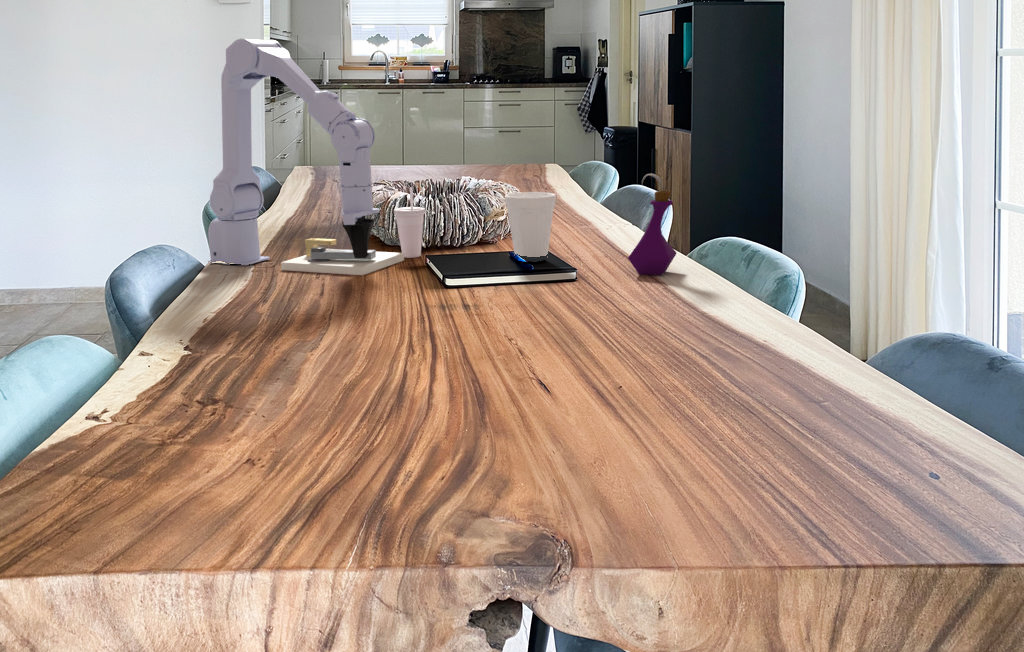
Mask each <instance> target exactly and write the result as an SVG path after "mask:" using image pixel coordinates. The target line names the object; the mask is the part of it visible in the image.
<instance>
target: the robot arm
mask: <svg viewBox="0 0 1024 652" xmlns="http://www.w3.org/2000/svg"><path fill="white" fill-rule="evenodd" d="M266 77H275V78H278V80H279V81H281V82H282V83H283V84H284V85H285V86H287V88H289V89H290V90H291V91H292V92H293V93H294V94H296V95H297V96H298V97H299V98H300V99H301V100H303V102H305V103H306V104H307V113H308V115H309V116H311V118H312V119H314V121H315V122H316V123H318V124H319V126H321V128H322V129H323V130H325V132H326V133H327V134H328V135H330V142H331V144H332V147H333V148H334V149H335V151H336V153H337V159H338V165H339V178H340V179H339V180H340V193H341V207H342V208H341V215H342V220H343V221H342V222H341V225H342V227H343V229H344V231H345V232H346V234H347V237H348V239H349V242H350V246H351V250H353V254H354V257H355V258H366V257H367V252H368V250H369V241H370V238H371V232H372V229H373V226H374V225H375V223H376V221H375V218H366V217H367V216H371V215H373V214H378V213H380V208H379V207H377V208H374V205H373V204H374V203H373V185H372V184H373V183H372V168H371V150H370V148H371V147H372V146H373V145H374V143H375V138H376V136H375V133H376V132H375V130H374V128H373V126H372V124H370V122H369V120H367V119H366V118H358V117H356V113H355V112H354V111H352V110H349V109H348V108H347V107H346V106H345V105H344V104H343V103H342V102H341V101H340V100H339V98H340V96H339V95H338V94H337V93H336V92H331V91H329V90H320V89H319V87H317V85H315V83H314V82H313V80H311V79H310V77H308V75H306V73H305V72H304V71H303V69H301V68H300V67H299V65H298V64H297V63H296V62H295V61H294V60H293V58H292V57H291V55H290V52H289V51H288V49H286V48H284V47H283V46H282V44H280V42H279V41H277V40H274V39H249V38H248V39H247V38H238V39H236V40H234V41H233V42H232V43H231V44H230V45H229V46H228V47H227V48H225V63H224V67H223V71H222V73H221V80H220V81H221V84H220V85H221V129H222V132H221V133H222V136H221V137H222V141H221V142H222V170H220V172H218V174H217V175H216V176H215V177H214V179H213V180H212V181H213V182H212V183H213V185H212V187H213V188H212V190H211V193H210V196H209V205H210V208H211V210H212V212H213V213H214V215H215V216H216V218H214V219H212V220H211V222H210V223H209V226H208V232H207V234H208V245H209V255H210V256H209V257H210V259H209V260H208V261H207V262H208V264H213V263H212V262H216V261H222V262H225V263H234V264H241V265H240V266H250V265H253V264H256V263H260V262H265V261H266V260H270V256H263V255H261V251H260V250H261V248H260V238H259V237H260V236H259V224H258V217H259V216H260V213H259V211H260V210H261V209H262V208H263V206H264V202H265V200H264V192H263V190H262V188H261V183H260V182H261V180H260V177H259V176H258V174H257V173H256V172H255V171H254V170H253V166H252V165H253V164H252V162H253V161H252V159H253V156H252V151H253V149H252V88H253V87H254V86H256V85H257V84H258V83H260V81H261V80H262V79H264V78H266ZM210 261H211V262H210ZM209 262H210V263H209ZM249 264H250V265H249Z"/></svg>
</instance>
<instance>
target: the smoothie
mask: <svg viewBox="0 0 1024 652" xmlns="http://www.w3.org/2000/svg"><path fill="white" fill-rule="evenodd" d="M409 202H410V206H405V207H404V206H403V207H398V208H394V209H393V215H395V218H396V226H397V231H398V238H399V244H400V249H401V253H404V258H407V259H408V258H409V259H410V258H419V257H421V255H422V241H423V233H424V232H423V229H424V218H425V217H424V216H425V214H426V208H425V207H421V206H414V190H413V186H410V187H409Z"/></svg>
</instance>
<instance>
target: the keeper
mask: <svg viewBox="0 0 1024 652" xmlns="http://www.w3.org/2000/svg"><path fill="white" fill-rule="evenodd" d="M304 244H305V255H306V256H311V248H313V247H320V246H335V245H337V244H338V243H337V239H336V238H335V239H333V238H319V237H318V238H317V237H316V238H315V237H310V238H305V239H304Z"/></svg>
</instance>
